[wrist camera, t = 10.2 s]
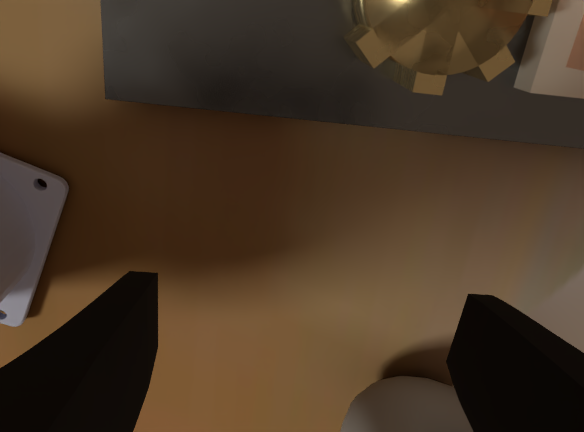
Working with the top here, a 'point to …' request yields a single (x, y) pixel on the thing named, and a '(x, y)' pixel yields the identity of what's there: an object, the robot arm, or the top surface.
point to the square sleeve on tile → (555, 52)
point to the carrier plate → (340, 63)
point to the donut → (406, 407)
